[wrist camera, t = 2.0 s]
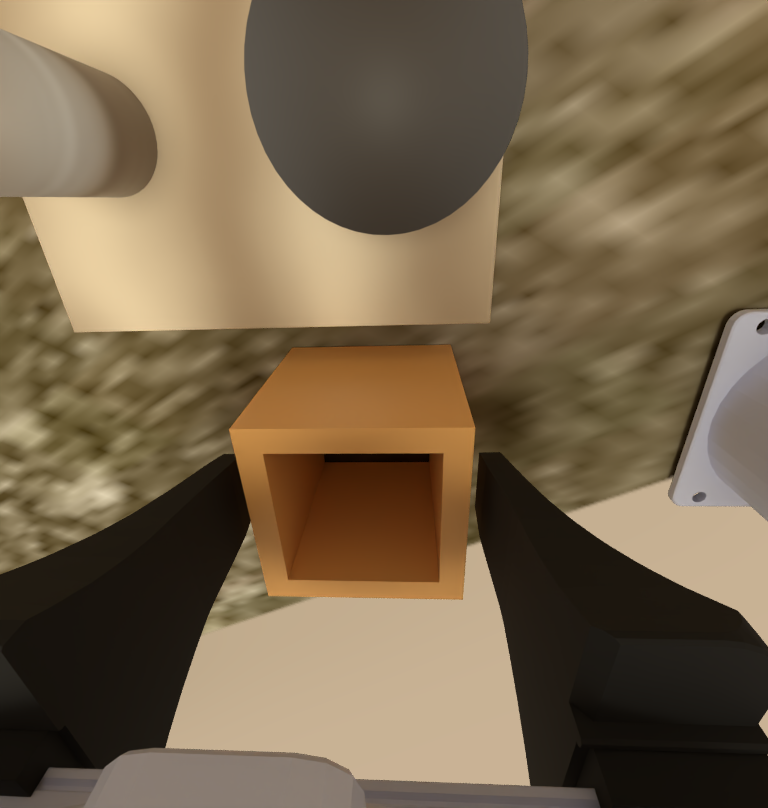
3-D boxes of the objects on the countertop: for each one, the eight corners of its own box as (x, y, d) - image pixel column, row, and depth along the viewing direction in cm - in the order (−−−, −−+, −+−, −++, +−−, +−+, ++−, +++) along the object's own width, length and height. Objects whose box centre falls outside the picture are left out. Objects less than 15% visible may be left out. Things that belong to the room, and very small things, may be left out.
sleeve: (450, 344, 15) (475, 427, 9) (445, 475, 17) (462, 599, 12) (292, 347, 15) (228, 429, 10) (310, 475, 18) (268, 596, 12)
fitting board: (518, -168, 9) (630, -538, 5) (483, 313, 14) (520, 369, 10) (-57, -114, 10) (-449, -379, 5) (98, 322, 15) (-40, 377, 10)
